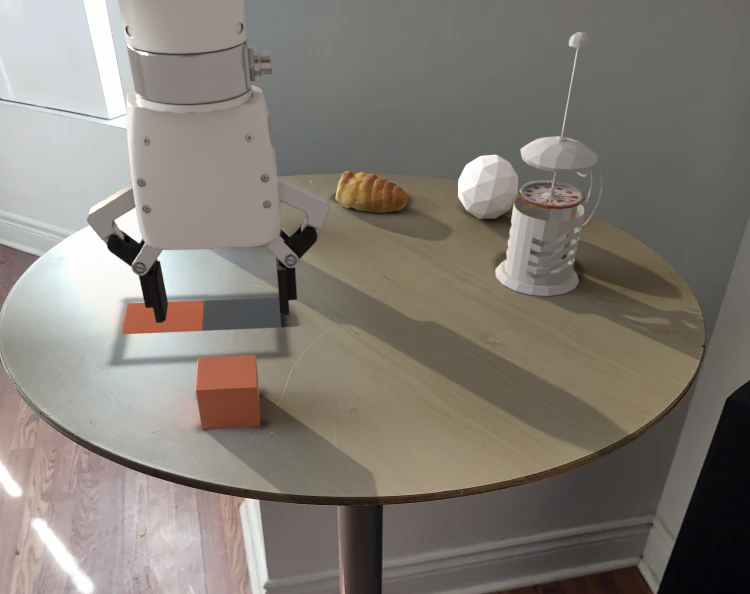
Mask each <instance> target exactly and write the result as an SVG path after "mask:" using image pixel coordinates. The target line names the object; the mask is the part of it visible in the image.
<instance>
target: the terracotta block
mask: <svg viewBox="0 0 750 594" xmlns="http://www.w3.org/2000/svg"><path fill="white" fill-rule="evenodd" d="M195 381H196V382H195V394H196V395H195V396H196V402H197V408H198V414H199V419H200V426H201V430H214V429H215V430H216V429H228V428H229V429H232V428H250V427H261V424H262V423H261V401H260V400H261V398H260V387H259V386H260V385H259V373H258V364H257V354H246V355H245V354H244V355H226V356H224V355H223V356H204V357H197V367H196V380H195Z"/></svg>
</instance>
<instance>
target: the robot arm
mask: <svg viewBox="0 0 750 594" xmlns="http://www.w3.org/2000/svg"><path fill="white" fill-rule="evenodd" d="M118 6H119V12H120V17H121V23H122V28H123V33H124V39H125V43H126V49H127V55H128V60H129V67H130V70H131V76H132V82H133V89H132V90H130V91H129V92H128V93H127V94H126V139H127V150H128V160H129V169H130V176H131V177H130V178H131V182H130V183H129V184H127V185H125V186H124V187H121V188H120V189H119V190H118V191H116V192H114V193H112V194H110V195H109V196H108V197H106V198H104V199H102V200H100V201H99V202H98V203H96V204H94V205H93V206H91V207H90V208H89V210H88V214H87V217H86V222H87V223H88V225H89V226H90V228H92V229H93V231H94V232H95V233H96V235H97V236H98V237H99V238H100V240H101V241H103V242H104V244H105V245H106V247H107V249H108V251H109V252H110V253H111V254H113V255H114V256H115V257H117V258H118V259H119V260H121V261H122V262H124V263H125V264H126V265H128V266H129V267H131V270H132V272H133V273H134V274H135V275H137V276H138V278H139V283H140V288H141V293H142V297H143V303H145V307H146V308H153V310H154V315H155V320H156V323H163V322H164V321H166V315H167V308H168V302H169V301H168V297H167V290H166V286H165V280H164V275H163V270H162V264H161V260H158V258H159V257H160V255H161V254H162V252H163V251H191V250H192V251H193V250H213V249H215V250H217V249H234V248H252V247H260V246H264V247H265V248H266V249H267V250H268V251H269V252H270V253H271V254H272V255H273V256H275V265H276V277H277V289H278V297H279V302H280V314H281V315H282V316H283V317H285V316H286V317H288V316H290V302H289V301H297V300H298V292H297V291H298V290H297V276H296V267H297V266H298V265H299V262H300V259H301V258H302V257H303V256H304V255H305V254H306V253H307V252H308V251H309V250H310V249H311V248H312V247H313V246H314V245H315V244H316V242H317V241H318V236H319V234H320V232H321V231H322V229H323V227H324V225H325V223H326V221H327V219H328V218H329V217H328V216H329V214H330V211H331V210H330V203H329V201H328V199H327V198H326V197H324V196H322V195H320V194H318V193H316V192H314V191H312V190H309V189H307V188H305V187H303V186H301V185H298V184H297V183H294V182H292V181H290V180H288V179H285V178H284V177H281V176H279V174H278V167H277V159H276V150H275V142H274V135H273V130H272V126H271V118H270V115H269V110H268V106H267V102H266V99H265V95H264V91H263V89H262V88H260V87H258V86H256V85H252V82H256V78H257V77H262V75H273V68H272V53H271V50H260V49H259V48H253V44H251V43H249V44H248V35H247V33H248V32H247V22H246V11H245V0H118ZM281 203H284V204H286V205H288V206H290V207H292V208H294V209H297V210H299V211H301V212H303V213H305V217H304V220H303V221H302V222H301V223H300V225H299V226H298V227H296V229H295V230H294V231H293V232H292V233H291V234H290V233H289V232H288V231H287V230H285V228H284V227H282V224H281V223H282V212H281V211H282V210H281ZM133 209H135V212H136V219H137V224H138V228H139V233H140V235H141V239H140V241H137V240H135V239H134V238H133V237H132V236H130V235H129V234H127V233H126V232H125V231H123V230H122V229H120V228H119V227H118V224H117V223H116V221H115V220H117V219H119V218H121V217H122V216H123V215H125V214H127V213H128V212H130V211H132V210H133Z"/></svg>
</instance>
